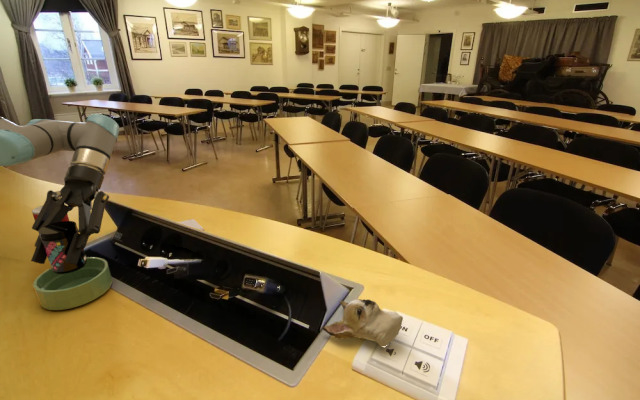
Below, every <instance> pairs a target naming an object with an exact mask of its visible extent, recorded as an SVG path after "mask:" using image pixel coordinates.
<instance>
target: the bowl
mask: <svg viewBox="0 0 640 400" xmlns="http://www.w3.org/2000/svg"><path fill="white" fill-rule="evenodd" d="M86 258H87V263H86V264H85V266H84V267H82V268H81V269H79V270H77V271H75V272H72V273H67V274H57V273H54V272H53V271H52V268H51V267H50V268H48V269H46V270H45V271H43V272H42V273H40V274H38V276H37V277H36V278H35V279H34V280H33V283H32V288H33V290H34V292H35V295H36V298H37V301H38V303H39V305H40V306H41V308H43V309H46V310H48V311H63V310H68V309H73V308H74V309H75V308H77V307H79V306H83V305H86V304H89V303H90V302H92V301H95V300H96V299H98V298H99V297H102V295H104V294H105V293H106V292H107V291H108V290H109V289H110V288H111V286H112V284H113V277H112V274H111V269H110V266H109V262H108V261H107V260H106V259H105V258H101V257H97V256H90V257H89V256H86Z"/></svg>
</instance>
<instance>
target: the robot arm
mask: <svg viewBox="0 0 640 400" xmlns="http://www.w3.org/2000/svg"><path fill="white" fill-rule="evenodd" d="M119 134H120V126H119V123H117V122H116V120H114V119H113V118H112V117H110V116H107V115H104V114H101V113H93V114H90V115H88V117H87V118H86V119H85V122H81V121H79V122H76V121H75V122H74V121H65V120H55V119H50V118H44V119H43V118H42V119H40V118H34V119H31V120H30V121H28V123H26V124H25V125H18V124H16V123H15V122H13V121H10V120H9V119H7V118H4V117H2V116H0V167H11V166H16V165H22V164H26V163H28V162H30V161H32V160H35V159H38V158H42V157H45V156H49V155H52V154H55V153H58V152H67V151H68V152H73V155H72V157H71V160H70V162H69V166H68V167H67V170H66V172H65V175H64V177H63V181H64V185H63V187H62V188H60V190H57V191H54V190H51V189H50V190H47V193H46V199H45V200H44V203H43V204H42V206H43V207H42V209H41V211H40V213H39V215H38V216H37V218H36V220H34V222H33V224H32V226H31V229H32V230H34V231H36V232H38V231H39V230H40V229H41V228H42V227H44V226H46V225H49V224H52V223H56V222H61V221H62V220H63V218H64V217H65V216H66V214H68V213H69V212H71V211H73V209H74V208H77V210H78V213H77V214H78V230H77V232H79V233H74V236H73V239H72V242H71V245H70V247H69V250H68V253H67V256H66V259H65V262H67V263H70V264H75V265H77V263H78V259H79V256H80V253H81V250H82V249H84V250H85V249H86V247H87V244H88V240H89V237H90V236H91V235H93V234H96V235H97V234H99V233H100V232H101V227H102V223H103V218H104V213H105V208H106V204H107V203H108V201H109V199H110V196H109V194H108V193H105V192H104V191H103V190H101V188H102V185H103V182H104V180H105V176H104V175H106V173H107V170H108V166H109V163H110V161H111V157H112V154H113V153H114V148H115V147H116V146H115V145H116V144H117V142H118V137H119ZM99 190H100V191H99ZM92 201H93V202H92ZM34 247H35V249H34V252H33V254H32V257H31V260H30V262H32V263H36V264H40V265H45V264H46V261H47V259H48V257H47V254H46V252H45V249H44V246H43V243H42V240H41V239H40V235H39V234H38V236H37V238H36V240H35V244H34Z"/></svg>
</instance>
